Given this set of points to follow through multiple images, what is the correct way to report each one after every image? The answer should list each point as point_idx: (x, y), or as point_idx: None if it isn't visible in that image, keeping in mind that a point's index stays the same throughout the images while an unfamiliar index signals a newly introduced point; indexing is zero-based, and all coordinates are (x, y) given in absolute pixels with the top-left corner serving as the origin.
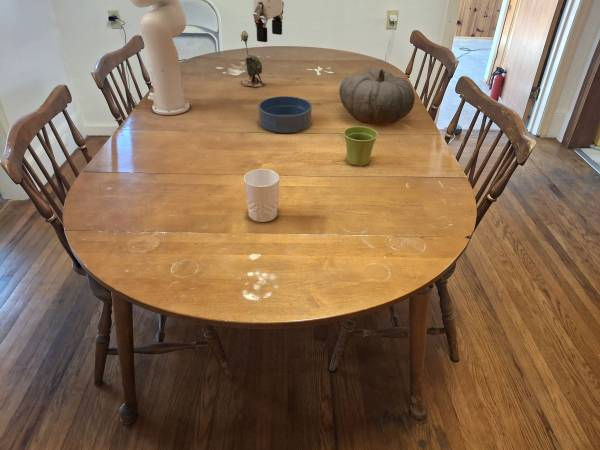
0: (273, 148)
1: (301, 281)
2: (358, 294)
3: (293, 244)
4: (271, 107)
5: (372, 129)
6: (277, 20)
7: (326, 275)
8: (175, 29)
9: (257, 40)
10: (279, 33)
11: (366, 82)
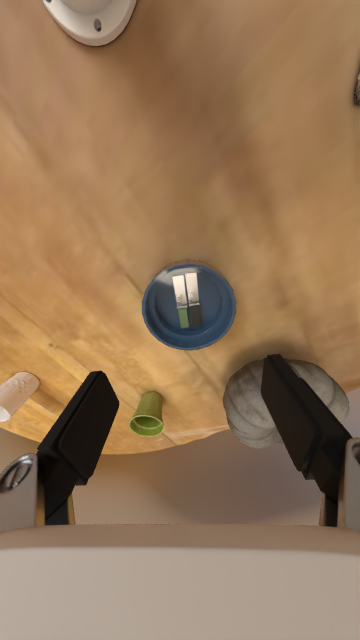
0: (116, 329)
1: (12, 418)
2: (33, 436)
3: (27, 405)
4: (199, 272)
5: (162, 430)
6: (314, 463)
7: (28, 424)
8: None
9: (91, 374)
10: (263, 392)
11: (251, 430)
